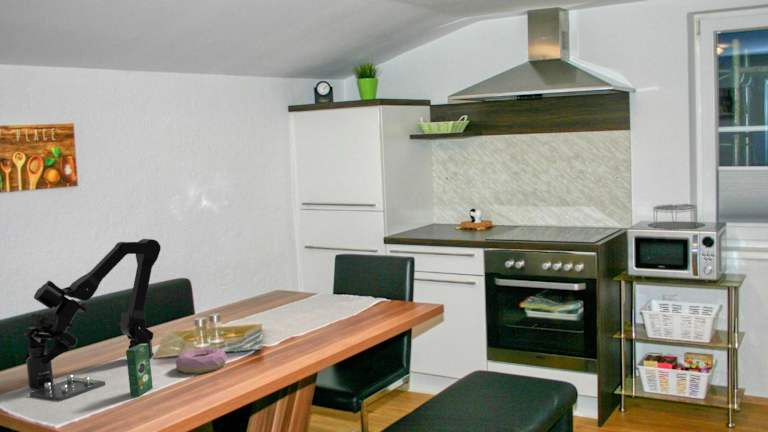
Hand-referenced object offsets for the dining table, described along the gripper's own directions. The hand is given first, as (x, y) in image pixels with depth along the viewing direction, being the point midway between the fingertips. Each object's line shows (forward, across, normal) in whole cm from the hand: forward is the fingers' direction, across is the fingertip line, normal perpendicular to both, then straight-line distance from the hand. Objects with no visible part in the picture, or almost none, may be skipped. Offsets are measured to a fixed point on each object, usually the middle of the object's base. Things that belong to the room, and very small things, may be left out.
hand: (34, 361), depth 236 cm
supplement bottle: (+5, 0, +6) cm, 8 cm away
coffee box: (+1, +37, +10) cm, 39 cm away
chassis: (+5, +13, +6) cm, 15 cm away
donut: (-16, +36, +28) cm, 49 cm away
